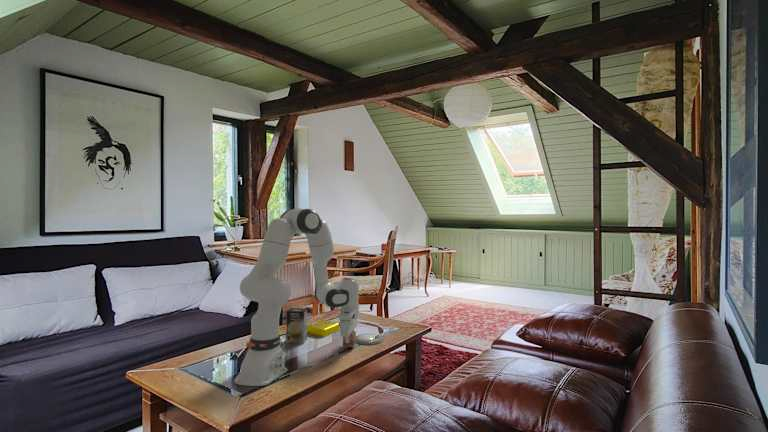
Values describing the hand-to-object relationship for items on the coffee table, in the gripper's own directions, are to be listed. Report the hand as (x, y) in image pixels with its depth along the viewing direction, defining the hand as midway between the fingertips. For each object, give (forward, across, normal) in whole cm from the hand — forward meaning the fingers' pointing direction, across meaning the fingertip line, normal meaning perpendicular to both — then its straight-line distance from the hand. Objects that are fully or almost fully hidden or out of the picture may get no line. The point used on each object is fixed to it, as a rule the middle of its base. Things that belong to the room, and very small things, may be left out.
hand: (349, 340), depth 201 cm
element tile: (+4, -22, -21) cm, 31 cm away
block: (+2, 0, 0) cm, 2 cm away
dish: (+3, -12, +7) cm, 15 cm away
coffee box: (+4, -4, -28) cm, 28 cm away
